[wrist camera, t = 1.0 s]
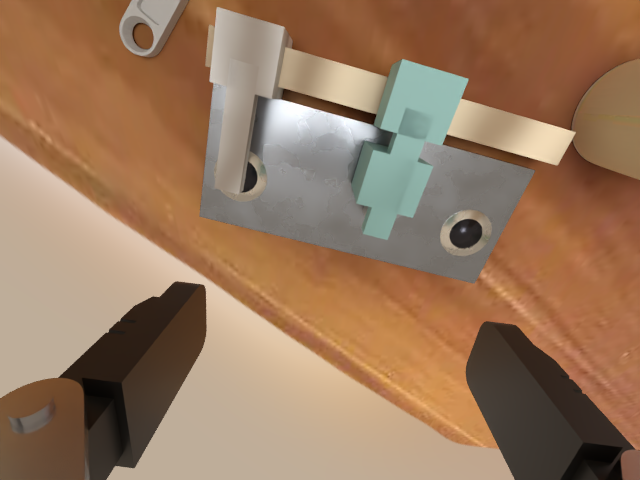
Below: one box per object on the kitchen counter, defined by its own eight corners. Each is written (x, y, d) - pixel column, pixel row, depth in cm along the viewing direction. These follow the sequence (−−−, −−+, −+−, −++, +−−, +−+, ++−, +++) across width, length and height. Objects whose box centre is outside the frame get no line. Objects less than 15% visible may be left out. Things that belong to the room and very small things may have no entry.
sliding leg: (343, 208, 27) (347, 232, 22) (386, 67, 22) (402, 59, 18) (388, 220, 27) (401, 245, 22) (439, 83, 23) (468, 78, 18)
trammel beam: (208, 169, 27) (185, 182, 22) (224, 20, 23) (199, 1, 18) (489, 241, 29) (518, 266, 25) (554, 118, 25) (603, 122, 20)
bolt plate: (203, 212, 28) (198, 216, 27) (218, 81, 24) (213, 80, 23) (470, 278, 31) (474, 284, 30) (528, 168, 26) (536, 170, 25)
